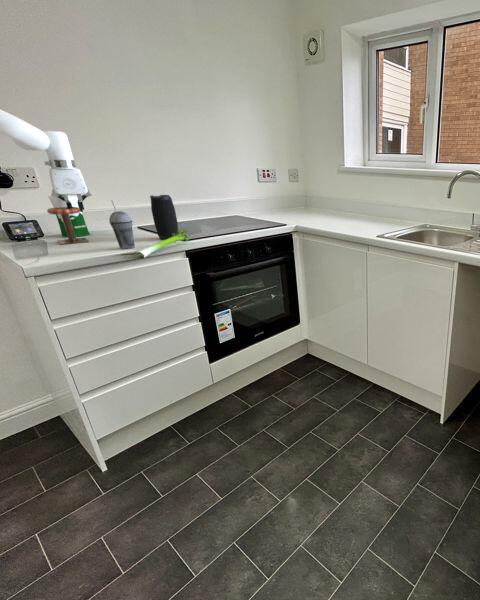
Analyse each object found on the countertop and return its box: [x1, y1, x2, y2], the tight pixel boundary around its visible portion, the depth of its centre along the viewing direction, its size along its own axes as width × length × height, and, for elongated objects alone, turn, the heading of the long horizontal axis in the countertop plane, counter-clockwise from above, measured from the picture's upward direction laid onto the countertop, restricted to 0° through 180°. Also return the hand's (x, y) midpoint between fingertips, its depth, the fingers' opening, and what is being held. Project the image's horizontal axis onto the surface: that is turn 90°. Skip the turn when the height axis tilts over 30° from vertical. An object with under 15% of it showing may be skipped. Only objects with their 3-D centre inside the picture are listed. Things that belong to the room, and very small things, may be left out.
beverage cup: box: [108, 199, 136, 251], centre depth 138 cm, size 7×7×20 cm
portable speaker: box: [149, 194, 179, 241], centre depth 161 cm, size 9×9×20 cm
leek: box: [133, 229, 191, 259], centre depth 146 cm, size 6×7×30 cm
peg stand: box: [57, 214, 89, 246], centre depth 146 cm, size 9×9×14 cm
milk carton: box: [47, 194, 91, 238], centre depth 160 cm, size 9×9×20 cm
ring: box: [46, 207, 80, 215], centre depth 144 cm, size 10×10×2 cm
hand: (76, 211), depth 147 cm, fingers closed on ring, 2 cm apart
